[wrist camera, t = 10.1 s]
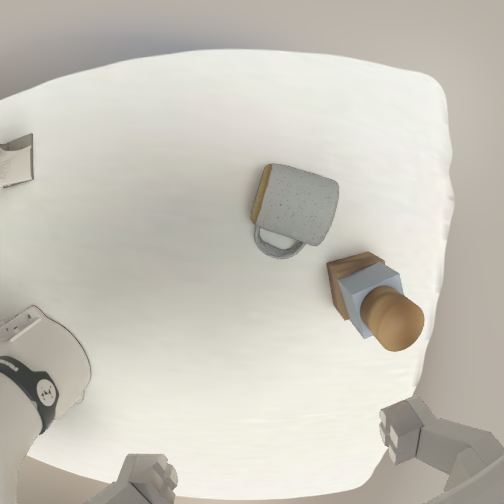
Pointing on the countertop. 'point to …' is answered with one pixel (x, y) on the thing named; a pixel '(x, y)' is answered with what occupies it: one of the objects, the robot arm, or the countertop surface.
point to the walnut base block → (344, 269)
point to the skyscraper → (16, 161)
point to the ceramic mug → (293, 207)
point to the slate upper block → (366, 290)
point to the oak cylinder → (391, 318)
